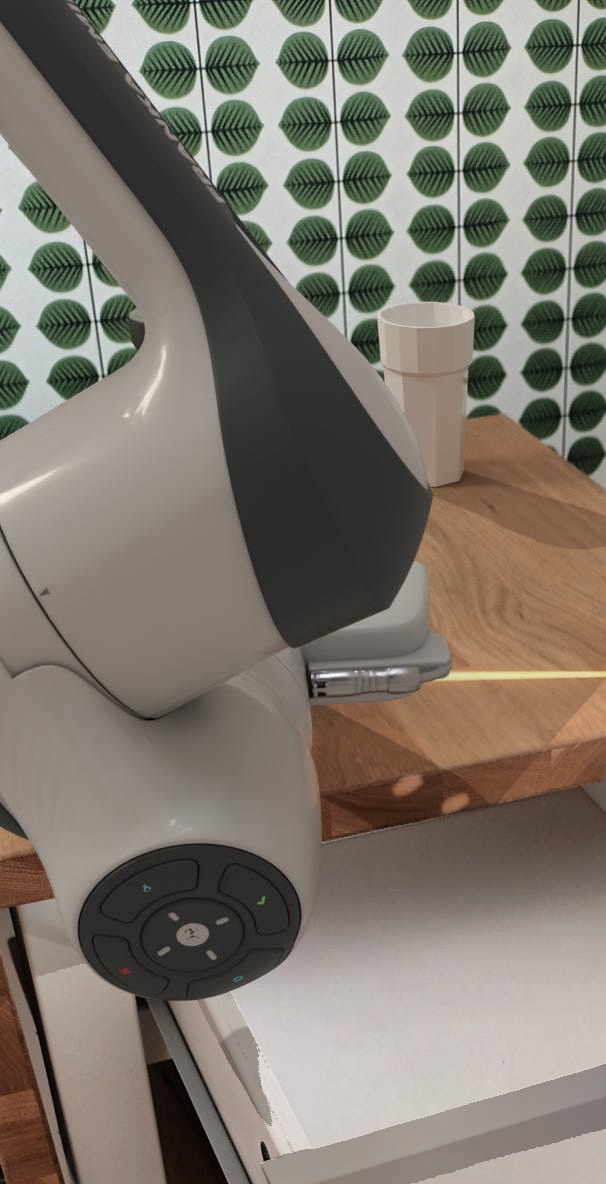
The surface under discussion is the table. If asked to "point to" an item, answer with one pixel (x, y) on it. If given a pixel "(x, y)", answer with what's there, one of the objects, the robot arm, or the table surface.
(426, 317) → the cup
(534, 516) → the table surface
